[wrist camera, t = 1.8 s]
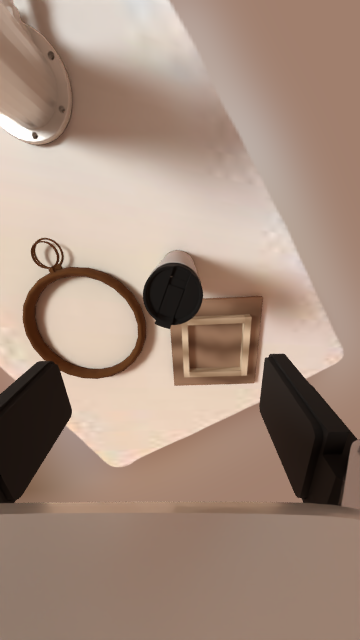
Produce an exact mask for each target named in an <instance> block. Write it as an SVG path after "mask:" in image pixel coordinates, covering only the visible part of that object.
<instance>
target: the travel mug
mask: <svg viewBox="0 0 360 640" xmlns="http://www.w3.org/2000/svg"><path fill="white" fill-rule="evenodd" d="M143 300H144V304H145V307H146V309H147V311H148V312H149V314H150V315H151V316H152V317H153V318H154V319H155V320H156V322H155V324H156V325H159V326H161V327H164V328H168V329H170V327H171V325H179V324H183V323H185V322H187V321H189V320H191V319H192V318H193V317H194V316H195V315H196V314H197V312H198V311H199V309H200V307H201V304H202V301H203V290H202V286H201V282H200V279H199V276H198V273H197V270H196V267H195V264H194V262H193V259H192V258H191V256H190V255H189V254H187V253H186V252H184V251H180V250H175V251H172V252H169V253H168V254H167V255H166V256H165V257H164V258H163V259H162V260H161V262H160V263H159V264H158V266H157V267H156V268H155V269H154V271H153V272H152V273H151V275H150V277H149V278H148V280H147V281H146V284H145V286H144V290H143Z"/></svg>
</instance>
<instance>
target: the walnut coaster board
mask: <svg viewBox="0 0 360 640" xmlns="http://www.w3.org/2000/svg"><path fill="white" fill-rule="evenodd" d="M262 302H263V297H262V296H253V297H229V298H206V299H203V301H202V304H201V307H200V309H199V311H198V312H197V314H196V315H195V316H194V317H193V318H192V319H191V320H189V321H187V322H185V323H183V324H179V325H171V327H170V329H171V343H172V357H173V371H174V385H175V386H178V385H211V384H245V383H254V381H255V371H256V361H257V351H258V341H259V331H260V322H261V312H262Z"/></svg>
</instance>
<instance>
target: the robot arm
mask: <svg viewBox="0 0 360 640" xmlns="http://www.w3.org/2000/svg"><path fill="white" fill-rule="evenodd" d="M71 109H72V93H71V86H70V82H69V78H68V74H67V72H66V69H65V67H64V64H63V63H62V61H61V59H60V57H59V56H58V54H57V52H56V51H55V50H54V48H53V47H52V45H51V44H50V43H49V42H48V41H47V40H46V38H45V37H44V36H43V35H42V34H40V33H39V32H38V31H37V30H35V29H34V28H32V27H30V26H28V25H26V24H24V23H23V22H22V21H21V19H20V14H19V11H18V9H17V8H16V7H15V6H14V3H13V0H0V126H1V127H2V128H3V129H4V130H6V131H7V132H8V133H9V134H11V135H12V136H14V137H16V138H17V139H19V140H21V141H24V142H26V143H30V144H34V145H42V144H46V143H50V142H52V141H53V140H55V139H57V138H58V137H59V136H60V135H61V134H62V132H63V131H64V129H65V128H66V126H67V124H68V121H69V119H70V114H71ZM64 111H65V112H64ZM37 137H38V138H37ZM260 413H261V415H262V418H263V420H264V422H265V425H266V427H267V429H268V432H269V434H270V436H271V439H272V441H273V443H274V446H275V448H276V450H277V453H278V455H279V458H280V460H281V462H282V465H283V467H284V469H285V472H286V474H287V476H288V479H289V481H290V484H291V486H292V488H293V491H294V493H295V495H296V496H297V497H298V498H302V500H303V503H284V502H74V503H73V502H70V503H69V502H65V503H14V502H15V501H16V500H17V499H19V498H20V497H21V496H22V494H23V493H24V491H25V490H26V488H27V487H28V485H29V483H30V482H31V480H32V478H33V477H34V475H35V474H36V472H37V470H38V469H39V467H40V465H41V464H42V462H43V461H44V459H45V458H46V456H47V454H48V453H49V451H50V450H51V448H52V446H53V444H54V443H55V442H56V440H57V438H58V437H59V435H60V433H61V432H62V430H63V429H64V427H65V425H66V424H67V422H68V421H69V419H70V417H71V414H72V409H71V405H70V402H69V399H68V396H67V392H66V389H65V386H64V382H63V379H62V376H61V373H60V369H59V366H58V365H57V364H55V363H54V362H53V361H39V362H37V363H36V364H34V365H33V366H32V367H31V368H30V369H29V370H28V371H26V372H25V373H24V374H23V375H22V376H21V377H19V378H18V379H17V380H16V381H15V382H14V383H13V384H11V385H10V386H9V387H8V388H7V389H6V390H5V391H3V392H2V393H1V394H0V640H360V439H357V438H356V437H355V436H354V435H353V434H352V432H351V431H350V430H349V429H348V428H347V426H346V425H345V424H344V423H343V422H342V420H341V419H340V418H339V417H338V416H337V414H336V413H335V412H334V411H333V410H332V409H331V408H330V406H329V405H328V404H327V403H326V401H325V400H324V399H323V398H322V397H321V396H320V394H319V393H318V392H317V391H316V390H315V388H314V387H313V386H312V385H310V384H309V383H308V381H307V380H306V379H305V378H304V377H303V375H302V374H301V373H300V372H299V371H298V369H297V368H296V367H295V366H294V365H293V363H292V362H291V361H290V360H289V359H288V357H287V356H286V355H285V354H270V355H269V358H265V362H264V370H263V379H262V388H261V397H260Z"/></svg>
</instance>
